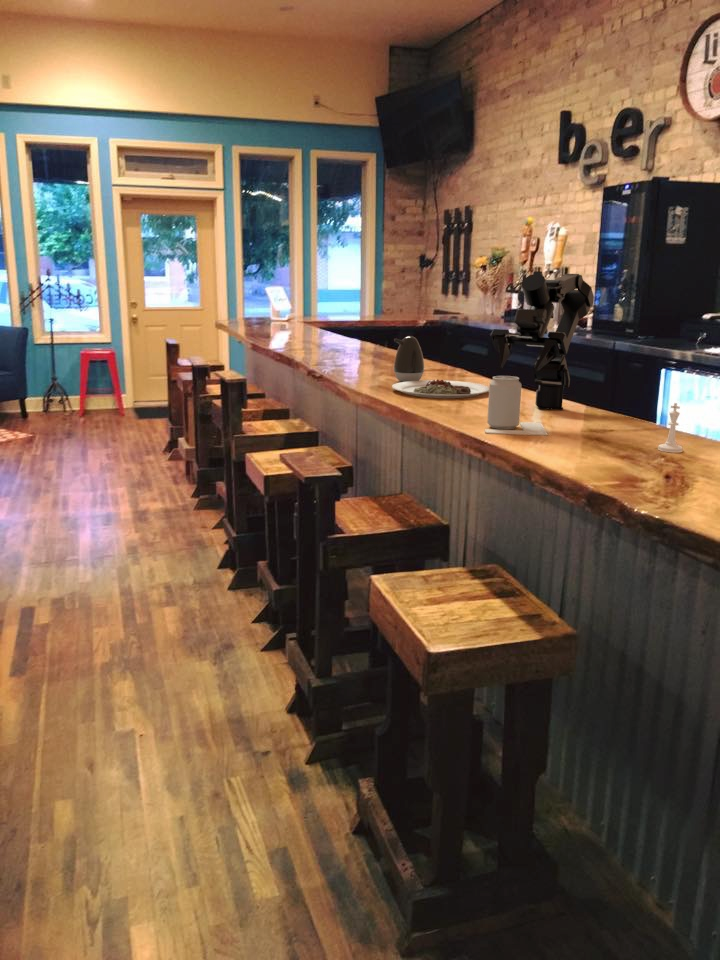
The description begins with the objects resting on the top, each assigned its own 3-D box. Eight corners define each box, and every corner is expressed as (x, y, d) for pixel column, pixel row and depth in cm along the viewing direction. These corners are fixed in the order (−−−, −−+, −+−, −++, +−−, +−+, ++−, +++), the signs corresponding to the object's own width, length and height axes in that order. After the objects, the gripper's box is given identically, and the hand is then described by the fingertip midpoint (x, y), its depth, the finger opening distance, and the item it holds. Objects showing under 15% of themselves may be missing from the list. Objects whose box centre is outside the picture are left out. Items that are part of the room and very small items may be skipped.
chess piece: (662, 446, 167) (667, 400, 164) (685, 450, 164) (691, 403, 161) (654, 450, 163) (659, 403, 160) (678, 453, 160) (684, 406, 157)
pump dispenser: (389, 379, 264) (390, 334, 260) (419, 379, 266) (420, 334, 262) (396, 384, 254) (397, 337, 250) (427, 383, 256) (428, 337, 252)
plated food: (418, 403, 220) (418, 391, 219) (376, 388, 247) (376, 377, 246) (508, 398, 231) (509, 386, 230) (459, 384, 258) (459, 374, 257)
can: (509, 431, 180) (513, 379, 177) (481, 427, 184) (484, 376, 181) (524, 426, 186) (527, 376, 183) (496, 422, 190) (499, 373, 187)
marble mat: (540, 424, 190) (540, 422, 190) (547, 435, 176) (547, 434, 176) (482, 422, 191) (482, 420, 191) (485, 433, 178) (485, 432, 178)
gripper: (495, 295, 193) (474, 343, 187) (568, 297, 183) (549, 348, 177) (505, 326, 201) (486, 373, 195) (576, 329, 192) (558, 379, 186)
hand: (518, 368), depth 188 cm, fingers open, 9 cm apart
